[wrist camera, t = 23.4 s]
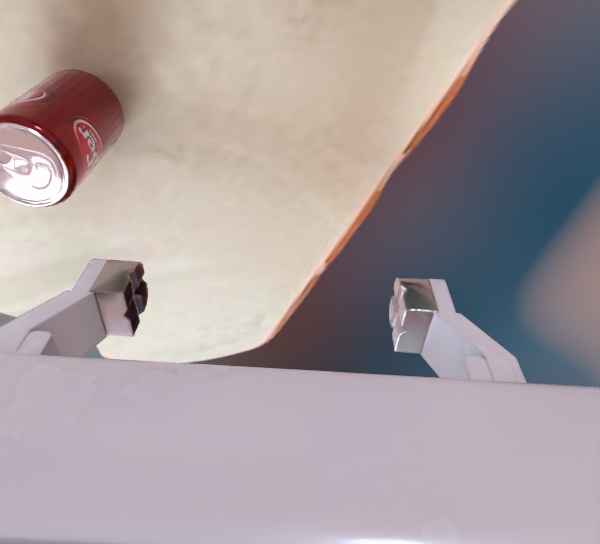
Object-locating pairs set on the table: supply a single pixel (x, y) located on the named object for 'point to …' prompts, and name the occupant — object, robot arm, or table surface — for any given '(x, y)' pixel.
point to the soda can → (56, 137)
